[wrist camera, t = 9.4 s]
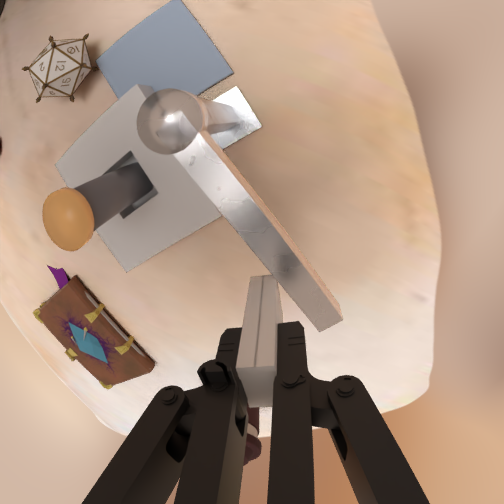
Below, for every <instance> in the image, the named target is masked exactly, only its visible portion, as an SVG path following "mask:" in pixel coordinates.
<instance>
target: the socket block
mask: <svg viewBox="0 0 504 504" xmlns="http://www.w3.org/2000/svg"><path fill="white" fill-rule="evenodd" d="M153 93H155V92H154V90H153V89H152V87H151V86H146V85H140V84H136V85H135V86H134V87H132V88H131V89H130V90H129V91H128V92H126V93H125V94H124V95H123V96H122V97H121V98H120V99H118V100H117V101H116V102H115V103H114V104H113V105H112V106H111V107H110V108H108V109H107V110H106V111H105V112H104V113H103V114H102V115H101V116H100V117H99V118H98V119H97V120H96V121H95V122H94V123H93V124H92V125H91V126H90V127H89V128H88V129H87V130H86V131H85V132H84V133H83V134H82V135H81V136H80V137H79V138H78V139H77V140H76V141H75V142H74V144H73V145H72V146H71V147H70V148H69V149H68V150H67V151H66V152H65V154H64V155H63V156H62V157H61V158H60V159H59V160H58V162H57V163H56V164H55V166H56V168H57V170H58V171H59V173H60V175H61V177H62V178H63V180H64V182H65V183H66V185H67V187H68V188H75V187H77V186H80V185H82V184H84V183H86V182H88V181H91V180H93V179H95V178H97V177H100V176H102V175H104V174H107V173H109V172H112V171H114V170H117V169H119V168H121V167H124V166H127V165H129V164H132V163H135V162H139V164H140V166H141V167H142V169H143V170H144V172H145V173H146V175H147V176H148V178H149V179H150V181H151V183H152V184H153V188H152V190H151V191H150V192H149V193H148V194H146V195H145V196H143V197H142V198H140V199H139V200H137V201H136V202H134V203H133V204H131V205H130V206H128V207H127V208H126V209H124V210H123V211H121V212H120V213H118V214H117V215H115V216H114V217H113V218H111V219H110V220H108V221H107V222H106V223H104V224H103V225H102V226H100V227H99V228H97V229H96V231H97V233H98V234H99V236H100V237H101V239H102V240H103V241H104V243H105V244H106V246H107V247H108V248H109V250H110V251H111V253H112V254H113V255H114V257H115V258H116V259H117V261H118V262H119V263H120V265H121V266H122V267H123V269H124V270H125V271H126V273H127V272H128V271H130V270H132V269H133V268H135V267H136V266H138V265H140V264H141V263H143V262H145V261H146V260H148V259H149V258H151V257H153V256H154V255H156V254H158V253H159V252H161V251H163V250H164V249H166V248H168V247H169V246H171V245H173V244H174V243H176V242H178V241H180V240H181V239H183V238H185V237H186V236H188V235H190V234H192V233H193V232H195V231H197V230H198V229H200V228H202V227H204V226H205V225H207V224H209V223H211V222H212V221H214V220H216V219H218V218H219V217H221V216H222V215H223V214H222V213H221V212H220V211H219V210H218V208H217V207H216V206H215V205H214V203H213V202H212V201H211V200H210V199H209V197H208V196H207V195H206V194H205V193H204V191H203V190H202V189H201V188H200V187H199V185H198V184H197V183H196V182H195V180H194V179H193V178H192V177H191V176H190V174H189V173H188V172H187V171H186V170H185V168H184V167H183V166H182V165H181V164H180V162H179V161H178V160H177V159H176V157H175V156H174V155H173V154H170V155H164V154H158V153H155V152H153V151H151V150H150V149H149V148H147V147H146V146H145V145H144V144H143V142H142V141H141V139H140V137H139V135H138V131H137V115H138V112H139V109H140V107H141V105H142V104H143V102H144V101H145V100H146V99H147V98H148V97H149V96H150V95H152V94H153Z"/></svg>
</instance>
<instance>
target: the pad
mask: <svg viewBox="0 0 504 504" xmlns="http://www.w3.org/2000/svg"><path fill="white" fill-rule="evenodd" d="M96 63H97V65H98V66H99V68H100V70H101V71H102V73H103V75H104V76H105V78H106V80H107V81H108V83H109V85H110V86H111V88H112V90H113V91H114V93H115V95H116V96H117V98H118V99H120V98H121V97H122V96H123V95H124V94H125V93H126V92H128V91H129V90H130V89H131V88H132V87H134V86H135V85H136V84H140V85H146V86H151V87H152V89H153V90H154V92H157V91H159V90H162V89H167V88H173V89H179V90H183V91H187V92H190V93H193V94H195V95H196V96H198V95H199V94H201V93H202V92H204V91H205V90H207V89H209V88H210V87H212V86H213V85H215V84H217V83H218V82H220V81H222V80H223V79H225V78H227V77H228V76H230V75H232V74H233V73H234V72H233V71H232V70H231V68H230V67H229V65H228V64H227V62H226V61H225V59H224V58H223V56H222V55H221V54H220V52H219V51H218V49H217V48H216V46H215V45H214V44H213V42H212V41H211V40H210V38H209V37H208V35H207V34H206V33H205V31H204V30H203V29H202V27H201V26H200V25H199V23H198V22H197V21H196V19H195V18H194V17H193V15H192V14H191V13H190V11H189V10H188V9H187V8H186V6H185V5H184V4H183V3H182V1H181V0H172V1H170V2H169V3H167V4H166V5H164V6H163V7H161V8H160V9H158V10H157V11H155V12H154V13H152V14H151V15H150V16H148V17H147V18H146V19H144V20H143V21H142V22H140V23H139V24H138V25H136V26H135V27H134V28H132V29H131V30H130V31H129V32H127V33H126V34H125V35H124V36H123V37H121V38H120V39H119V40H118V41H117V42H115V43H114V44H113V45H112V46H111V47H110V48H109V49H108V50H106V51H105V52H104V53H103V54H102V55H101V56H100V57H99V58H98V59H97V60H96Z"/></svg>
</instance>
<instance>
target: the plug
mask: <svg viewBox="0 0 504 504" xmlns="http://www.w3.org/2000/svg"><path fill="white" fill-rule="evenodd" d="M152 188H153V184H152V183H151V181H150V179H149V178H148V176H147V175H146V173H145V172H144V170H143V169H142V167H141V166H140V164H139V162H135V163H132V164H129V165H127V166H124V167H121V168H119V169H117V170H114V171H112V172H109V173H107V174H104V175H102V176H100V177H97V178H95V179H93V180H91V181H88V182H86V183H84V184H82V185H80V186H77V187H75V188H62V189H60V190H57V191H55V192H53V193H51V194H50V195H49V196H48V197H47V198H46V200H45V202H44V205H43V222H44V226H45V229H46V231H47V233H48V235H49V237H50V238H51V240H52V241H53V242H54V243H55V244H56V245H57V246H58V247H60V248H61V249H64V250H66V251H76V250H78V249H79V248H81V247H82V246H83V245H85V244H86V243H87V242H88V241H89V240H90V239H91V237H92V235H93V231H95V230H96V229H97V228H99V227H100V226H102V225H103V224H104V223H106V222H107V221H108V220H110V219H111V218H113V217H114V216H115V215H117V214H118V213H120V212H121V211H123V210H124V209H126V208H127V207H128V206H130V205H131V204H133V203H134V202H136V201H137V200H139V199H140V198H142V197H143V196H145V195H146V194H148V193H149V192H150V191H151V190H152Z"/></svg>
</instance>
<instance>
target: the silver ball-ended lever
mask: <svg viewBox="0 0 504 504" xmlns="http://www.w3.org/2000/svg"><path fill="white" fill-rule="evenodd" d="M207 126H208V113H207V109H206V107H205V105H204V103H203V102H202V100H201V99H200V98H199V97H197V96H196V95H195V94H193V93H190V92H187V91H183V90H179V89H173V88H167V89H162V90H159V91H157V92H155V93H153V94H152V95H150V96H149V97H148V98H147V99H146V100H145V101H144V102H143V104H142V105H141V107H140V109H139V112H138V115H137V131H138V135H139V137H140V139H141V141H142V142H143V144H144V145H145V146H146V147H147V148H149V149H150V150H151V151H153V152H155V153H158V154H164V155H170V154H173V155H174V156H175V157H176V159H177V160H178V161H179V162H180V164H181V165H182V166H183V167H184V168H185V170H186V171H187V172H188V173H189V174H190V176H191V177H192V178H193V179H194V180H195V182H196V183H197V184H198V185H199V187H200V188H201V189H202V190H203V191H204V193H205V194H206V195H207V196H208V197H209V199H210V200H211V201H212V202H213V203H214V205H215V206H216V207H217V208H218V210H219V211H220V212H221V213H222V214H223V216H224V217H225V218H226V219H227V220H228V222H229V223H230V224H231V225H232V226H233V228H234V229H235V230H236V231H237V233H238V234H239V235H240V236H241V237H242V239H243V240H244V241H245V242H246V243H247V245H248V246H249V247H250V248H251V249H252V251H253V252H254V253H255V254H256V256H257V257H258V258H259V259H260V260H261V262H262V263H263V264H264V265H265V266H266V268H267V269H268V270H269V271H270V273H271V274H272V275H273V276H274V277H275V279H276V280H277V281H278V282H279V283H280V285H281V286H282V287H283V288H284V290H285V291H286V292H287V293H288V294H289V296H290V297H291V298H292V299H293V300H294V302H295V303H296V304H297V305H298V307H299V308H300V309H301V310H302V311H303V313H304V314H305V315H306V316H307V317H308V319H309V320H310V321H311V322H312V324H313V325H314V326H315V327H316V328H317V330H318V331H319V332H321V331H323V330H325V329H327V328H329V327H331V326H333V325H335V324H337V323H338V322H340V321H342V320H343V317H342V313H341V309H340V305H339V304H338V302H337V301H336V299H335V298H334V296H333V295H332V294H331V292H330V291H329V289H328V288H327V287H326V285H325V284H324V282H323V281H322V280H321V278H320V277H319V276H318V274H317V273H316V271H315V270H314V269H313V267H312V266H311V265H310V263H309V262H308V260H307V259H306V258H305V256H304V255H303V254H302V252H301V251H300V250H299V248H298V247H297V246H296V244H295V243H294V242H293V240H292V239H291V238H290V236H289V235H288V234H287V232H286V231H285V230H284V228H283V227H282V226H281V224H280V223H279V222H278V220H277V219H276V218H275V216H274V215H273V214H272V212H271V211H270V210H269V209H268V207H267V206H266V205H265V203H264V202H263V201H262V200H261V198H260V197H259V196H258V194H257V193H256V192H255V191H254V189H253V188H252V187H251V185H250V184H249V183H248V182H247V180H246V179H245V178H244V177H243V175H242V174H241V173H240V172H239V170H238V169H237V168H236V167H235V165H234V164H233V163H232V162H231V160H230V159H229V158H228V157H227V155H226V154H225V153H224V152H223V150H222V149H221V148H220V147H219V145H218V144H217V143H216V142H215V141H214V139H213V138H212V137H211V136H210V135H209V133H208V132H207V131H206V129H207Z"/></svg>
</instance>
